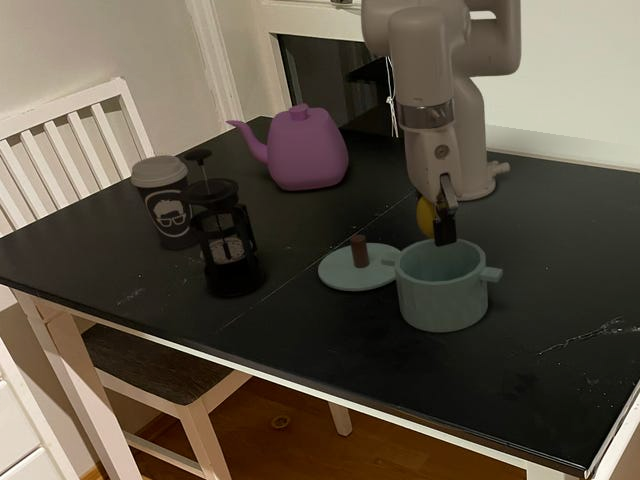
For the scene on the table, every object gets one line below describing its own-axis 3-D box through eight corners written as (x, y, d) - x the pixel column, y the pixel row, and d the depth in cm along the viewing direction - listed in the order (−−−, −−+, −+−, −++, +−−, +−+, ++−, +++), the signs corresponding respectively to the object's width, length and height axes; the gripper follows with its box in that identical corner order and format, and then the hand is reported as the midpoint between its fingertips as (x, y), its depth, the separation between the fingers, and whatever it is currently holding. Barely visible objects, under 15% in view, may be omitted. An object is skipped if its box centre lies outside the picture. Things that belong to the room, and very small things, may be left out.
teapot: (349, 151, 167) (338, 84, 158) (352, 190, 150) (340, 118, 141) (247, 162, 165) (230, 95, 155) (239, 203, 148) (219, 130, 139)
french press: (241, 304, 119) (201, 169, 105) (193, 295, 122) (148, 163, 107) (280, 267, 127) (248, 138, 113) (235, 260, 130) (198, 133, 116)
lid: (345, 244, 133) (339, 212, 129) (420, 255, 128) (416, 223, 125) (302, 286, 122) (295, 253, 118) (382, 300, 118) (377, 267, 114)
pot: (407, 276, 123) (402, 230, 118) (515, 293, 117) (514, 246, 112) (370, 320, 113) (362, 273, 108) (486, 342, 108) (483, 293, 102)
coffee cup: (218, 233, 139) (196, 157, 129) (183, 257, 132) (156, 179, 123) (180, 225, 142) (155, 150, 133) (143, 248, 135) (114, 171, 126)
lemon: (452, 250, 106) (447, 199, 101) (415, 248, 107) (409, 197, 102) (460, 232, 110) (457, 182, 105) (424, 230, 111) (419, 180, 106)
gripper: (479, 126, 91) (485, 254, 102) (429, 88, 104) (439, 205, 115) (422, 138, 89) (435, 267, 100) (378, 98, 102) (394, 217, 113)
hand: (437, 233), depth 107 cm, fingers closed on lemon, 5 cm apart
